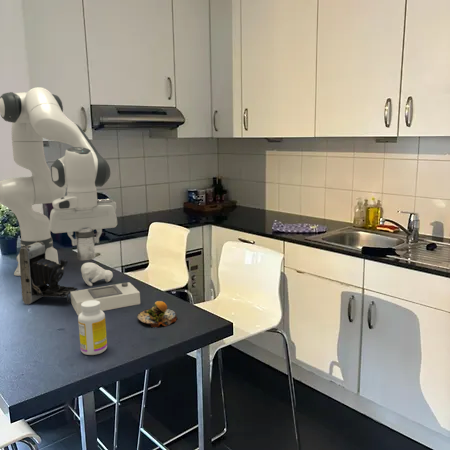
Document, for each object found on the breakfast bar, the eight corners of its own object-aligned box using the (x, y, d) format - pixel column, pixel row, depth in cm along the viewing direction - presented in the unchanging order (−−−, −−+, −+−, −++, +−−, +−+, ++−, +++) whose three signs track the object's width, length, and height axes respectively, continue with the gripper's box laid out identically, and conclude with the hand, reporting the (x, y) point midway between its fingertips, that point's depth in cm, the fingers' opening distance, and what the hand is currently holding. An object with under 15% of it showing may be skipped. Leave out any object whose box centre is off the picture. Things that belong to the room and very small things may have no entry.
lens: (76, 257, 145) (73, 226, 143) (93, 255, 148) (91, 224, 146) (79, 261, 140) (76, 229, 138) (97, 259, 143) (95, 227, 141)
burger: (145, 311, 144) (144, 289, 142) (181, 314, 142) (180, 291, 140) (131, 327, 132) (129, 303, 131) (170, 330, 130) (169, 305, 129)
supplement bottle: (110, 344, 121) (107, 298, 118) (103, 356, 114) (99, 308, 112) (85, 344, 121) (82, 298, 119) (76, 356, 115) (73, 308, 112)
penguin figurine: (80, 261, 170) (111, 260, 175) (79, 282, 171) (110, 280, 177) (82, 265, 165) (115, 263, 170) (82, 287, 166) (114, 285, 171)
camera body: (71, 303, 151) (70, 289, 150) (130, 293, 160) (129, 280, 159) (77, 315, 140) (76, 300, 140) (140, 303, 150) (139, 290, 149)
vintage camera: (63, 309, 147) (61, 249, 143) (21, 304, 150) (18, 245, 146) (78, 299, 156) (77, 243, 153) (38, 295, 159) (36, 239, 156)
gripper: (113, 197, 148) (116, 238, 150) (46, 201, 139) (50, 245, 141) (118, 199, 142) (120, 242, 145) (49, 204, 133) (53, 249, 136)
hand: (85, 243), depth 143 cm, fingers closed on lens, 5 cm apart
